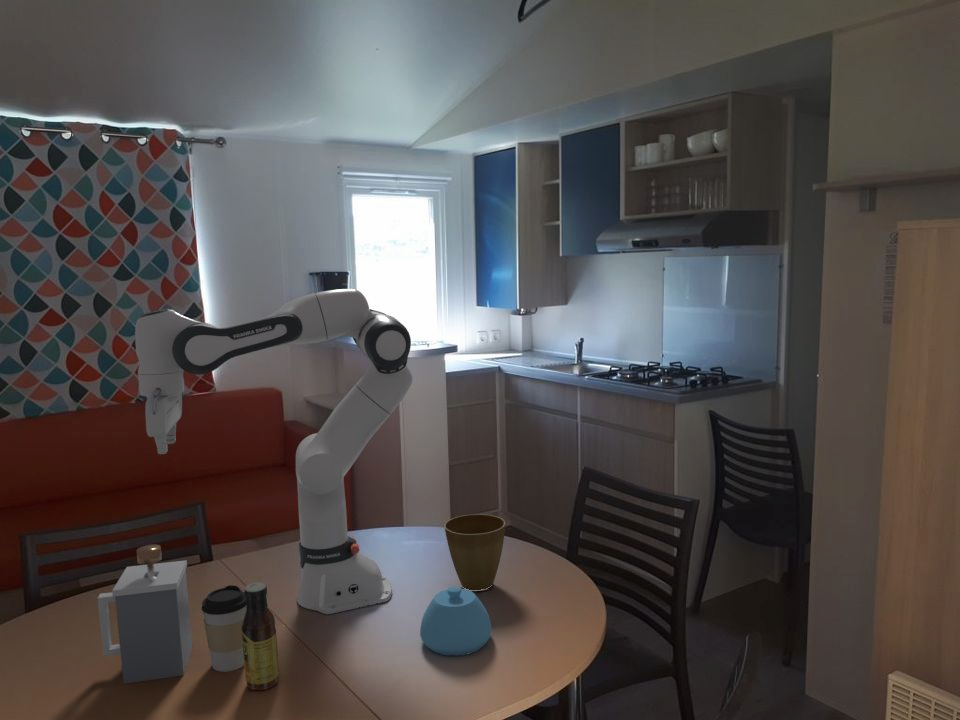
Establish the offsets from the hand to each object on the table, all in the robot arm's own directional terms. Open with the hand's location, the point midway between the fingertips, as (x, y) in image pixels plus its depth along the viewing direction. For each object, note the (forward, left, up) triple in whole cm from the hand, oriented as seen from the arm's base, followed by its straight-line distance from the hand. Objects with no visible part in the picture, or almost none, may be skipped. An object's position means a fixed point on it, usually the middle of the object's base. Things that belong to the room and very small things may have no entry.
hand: (167, 448), depth 162 cm
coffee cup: (-12, +19, -41) cm, 47 cm away
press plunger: (+2, +16, -38) cm, 41 cm away
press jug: (+4, +16, -41) cm, 44 cm away
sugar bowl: (-58, +23, -41) cm, 75 cm away
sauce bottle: (-19, +29, -41) cm, 54 cm away
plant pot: (-68, -2, -41) cm, 80 cm away
